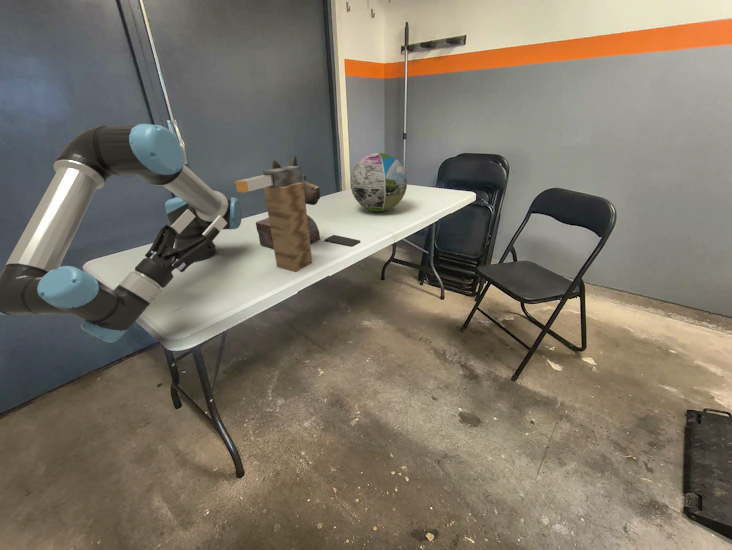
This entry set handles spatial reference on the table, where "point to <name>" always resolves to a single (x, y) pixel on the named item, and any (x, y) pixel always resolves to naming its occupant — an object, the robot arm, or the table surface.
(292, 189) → the pedestal
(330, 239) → the smartphone
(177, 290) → the table surface
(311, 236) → the dog bust
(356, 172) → the photo panel ball
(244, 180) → the orange-tipped white stick
